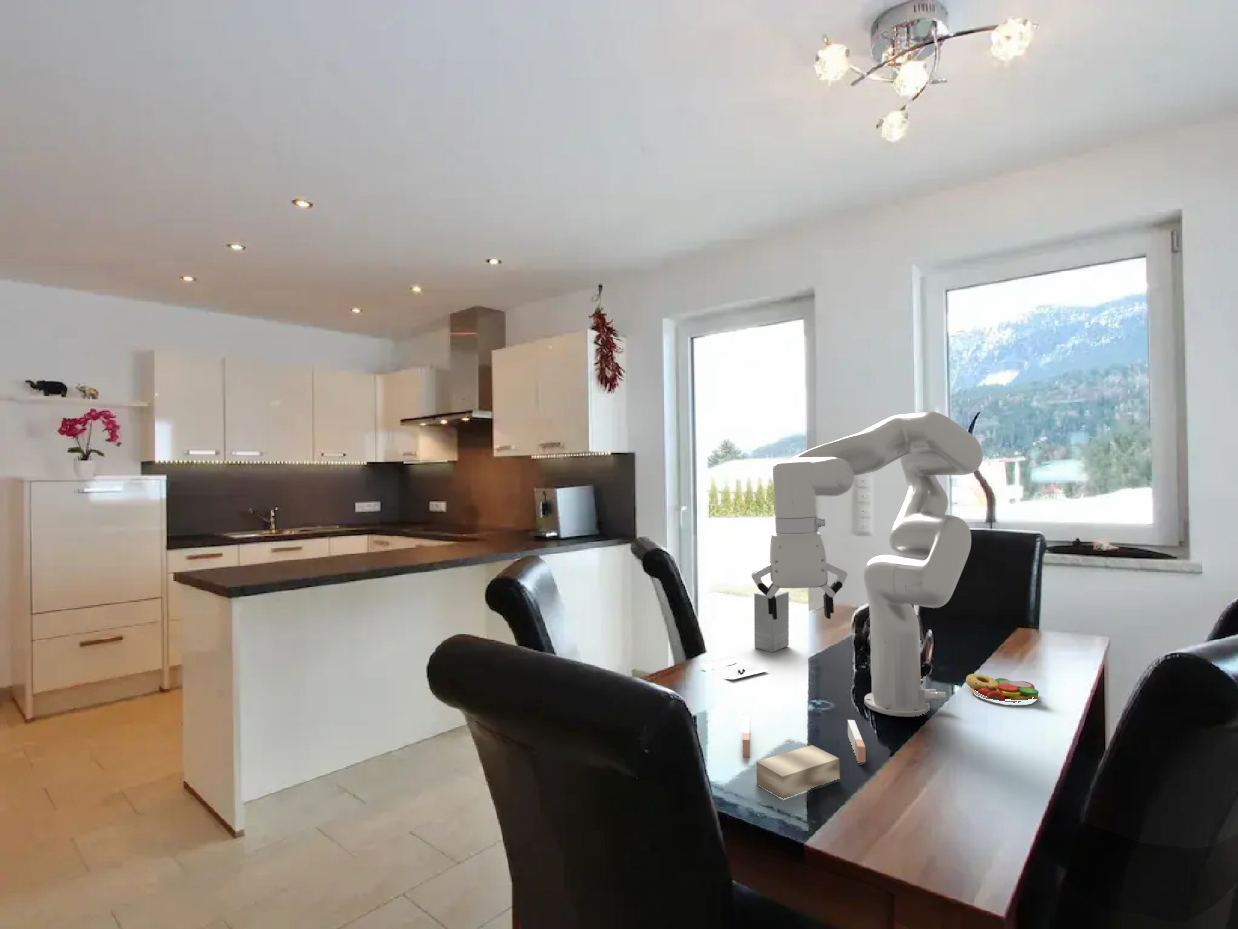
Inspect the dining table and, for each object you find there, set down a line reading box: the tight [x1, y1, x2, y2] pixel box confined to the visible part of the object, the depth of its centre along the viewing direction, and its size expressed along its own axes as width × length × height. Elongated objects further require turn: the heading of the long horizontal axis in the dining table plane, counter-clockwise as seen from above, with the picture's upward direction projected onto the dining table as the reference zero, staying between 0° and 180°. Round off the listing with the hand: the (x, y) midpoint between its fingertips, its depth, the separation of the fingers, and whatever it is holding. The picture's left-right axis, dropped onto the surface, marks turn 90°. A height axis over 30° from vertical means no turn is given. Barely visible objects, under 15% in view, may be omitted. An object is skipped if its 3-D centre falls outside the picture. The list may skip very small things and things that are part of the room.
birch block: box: [755, 744, 841, 799], centre depth 105 cm, size 12×6×4 cm, turn 119°
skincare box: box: [753, 589, 790, 653], centre depth 184 cm, size 8×7×16 cm
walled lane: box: [742, 713, 867, 764], centre depth 119 cm, size 20×12×3 cm, turn 79°
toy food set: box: [965, 673, 1040, 703], centre depth 142 cm, size 13×13×3 cm
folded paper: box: [700, 655, 768, 680], centre depth 164 cm, size 12×12×2 cm
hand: (800, 617), depth 123 cm, fingers open, 9 cm apart
